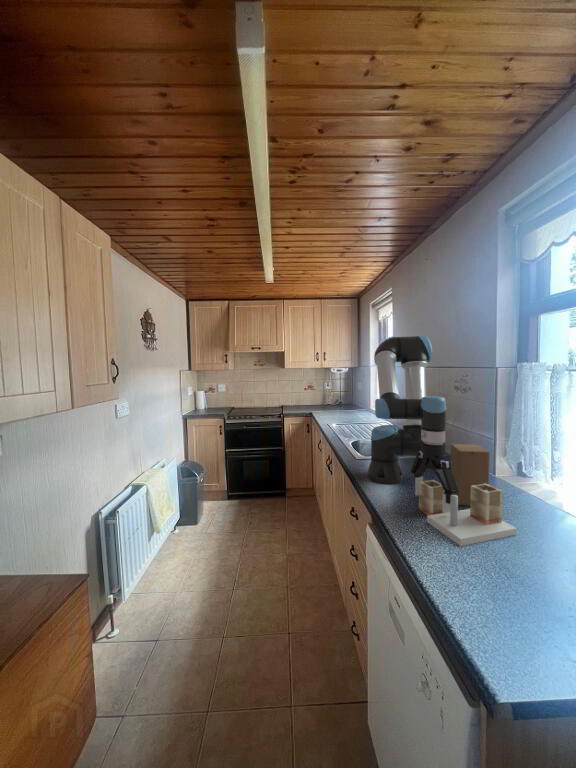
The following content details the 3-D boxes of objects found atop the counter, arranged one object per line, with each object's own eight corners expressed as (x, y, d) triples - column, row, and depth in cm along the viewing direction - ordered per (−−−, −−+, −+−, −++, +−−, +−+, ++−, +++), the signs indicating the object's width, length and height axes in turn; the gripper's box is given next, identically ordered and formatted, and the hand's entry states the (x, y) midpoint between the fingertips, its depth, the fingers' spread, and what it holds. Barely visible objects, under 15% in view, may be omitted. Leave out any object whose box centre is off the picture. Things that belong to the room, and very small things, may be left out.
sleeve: (418, 509, 110) (419, 481, 110) (433, 507, 112) (433, 479, 111) (430, 517, 105) (430, 488, 104) (445, 515, 106) (446, 486, 105)
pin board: (426, 521, 102) (427, 488, 101) (477, 513, 107) (478, 481, 106) (460, 546, 88) (461, 508, 88) (516, 534, 93) (517, 498, 93)
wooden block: (488, 507, 111) (490, 451, 110) (457, 505, 113) (458, 450, 112) (477, 495, 121) (478, 444, 119) (449, 493, 123) (450, 443, 121)
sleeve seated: (470, 515, 101) (470, 485, 100) (485, 513, 103) (485, 483, 102) (486, 525, 95) (486, 493, 95) (501, 522, 97) (502, 490, 96)
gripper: (401, 434, 118) (400, 490, 119) (451, 453, 94) (450, 522, 95) (418, 433, 120) (417, 487, 121) (472, 450, 95) (470, 518, 97)
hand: (432, 503), depth 108 cm, fingers open, 13 cm apart
